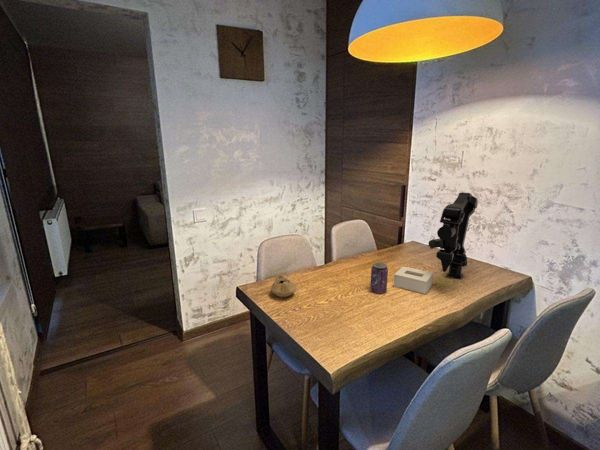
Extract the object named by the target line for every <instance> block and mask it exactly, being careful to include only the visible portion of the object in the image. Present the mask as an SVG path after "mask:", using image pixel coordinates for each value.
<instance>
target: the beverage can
mask: <svg viewBox="0 0 600 450" xmlns="http://www.w3.org/2000/svg"><path fill="white" fill-rule="evenodd" d="M370 270H371V271H370V283H369V284H370V285H369V288H370V290H371V291H372V292H373V293H376V294H382V293H385V292H387V290H388V289H387V288H388V275H389V274H388V273H389V269H388V265H387V264H386V263H383V262H374V263H372V267H371V268H370Z"/></svg>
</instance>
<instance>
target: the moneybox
mask: <svg viewBox="0 0 600 450" xmlns="http://www.w3.org/2000/svg"><path fill="white" fill-rule="evenodd" d="M433 281H434V272H432V271H426V270H421V269H416V268H412V267H408V266H402V267H401V268H400V269H399V270H397V271H396V272H395V273H394V274H393V287H394V288H398V289H402V290H406V291H408V292H414V293H416V294H417V293H418V294H421V295H426V294H427V293H428V292H429V290H430V289H431V288H432V286H433Z"/></svg>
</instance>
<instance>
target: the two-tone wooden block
mask: <svg viewBox="0 0 600 450" xmlns="http://www.w3.org/2000/svg"><path fill="white" fill-rule="evenodd" d="M453 282H454V277H450V276H446V275H443V274H438V276H437V281H436V287H437V288H442V289H444V290H445V289H446V290H450V291H451V290H452V289H453V284H454V283H453Z"/></svg>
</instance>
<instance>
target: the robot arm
mask: <svg viewBox="0 0 600 450" xmlns="http://www.w3.org/2000/svg"><path fill="white" fill-rule="evenodd" d="M478 206H479V202H478V198H477V197H475V196H474V195H472V193H470V192H458V195H457V198H456V199H455V200H454V202H453V203H450V204H447V205H446V206H445V207H444V208H443V209H442V213H441V215H440V216H441V217H440V220H439V223H441V224H442V226H441V227H439V228H438V229H437V233H436V234H437V237H438V238H435V239H431V240H429V241H428V244H427V245H428V247H429V249H431V250H432V249H436V248H439V250H438V251H437V252H436V254H435V255H436V257H435V258H437V260H439V261H440V262H441V263H440V264H441V267H442V272H445V273H446V272H447V270H448V272H447V273H446V274H445V276H448V277H452V278H453V279H454V278H455V279H460V280H461V279H462V277H463V276H464V274H463V273H462V272H463V268H464V267H467V266H468V257H467V254H466V253H467V251H466V248H465V246H464V244H465V240H466V237H467V236H466V235H467V231H468V227H469V226H468V225H469V223H470V217H471V216H472V215H473V214H474V213H475V211H476V209H477V208H478Z"/></svg>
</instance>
